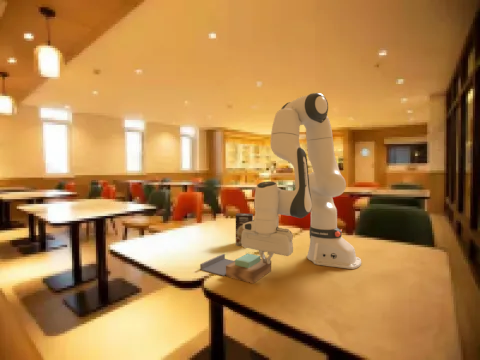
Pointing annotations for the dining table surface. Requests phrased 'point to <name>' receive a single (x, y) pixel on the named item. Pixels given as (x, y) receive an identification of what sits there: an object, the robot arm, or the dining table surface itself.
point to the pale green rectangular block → (247, 260)
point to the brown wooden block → (248, 271)
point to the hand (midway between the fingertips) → (266, 262)
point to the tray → (216, 265)
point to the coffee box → (241, 225)
